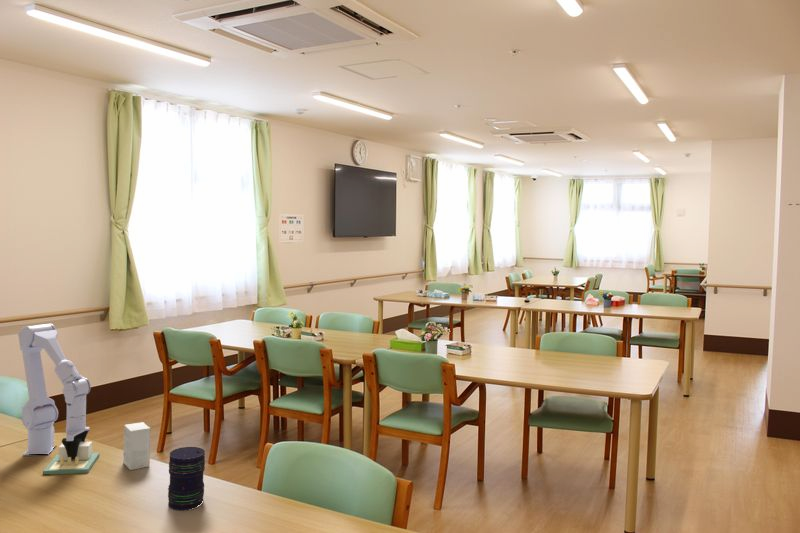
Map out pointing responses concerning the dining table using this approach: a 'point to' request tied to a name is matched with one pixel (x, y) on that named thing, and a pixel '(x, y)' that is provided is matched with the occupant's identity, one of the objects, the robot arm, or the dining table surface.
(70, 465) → the board
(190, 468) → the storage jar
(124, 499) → the dining table surface
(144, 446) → the small box
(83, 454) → the block
